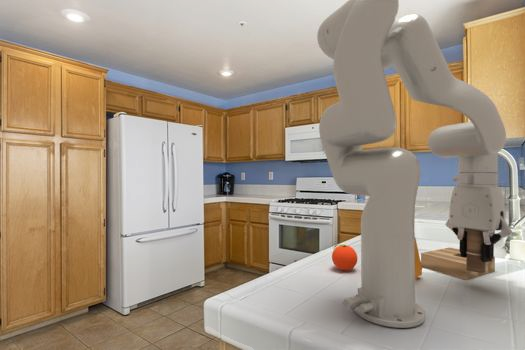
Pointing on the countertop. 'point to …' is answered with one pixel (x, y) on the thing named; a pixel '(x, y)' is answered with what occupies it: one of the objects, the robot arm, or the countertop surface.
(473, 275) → the board
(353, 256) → the clementine
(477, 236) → the peg
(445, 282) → the countertop surface
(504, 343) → the countertop surface
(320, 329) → the countertop surface
